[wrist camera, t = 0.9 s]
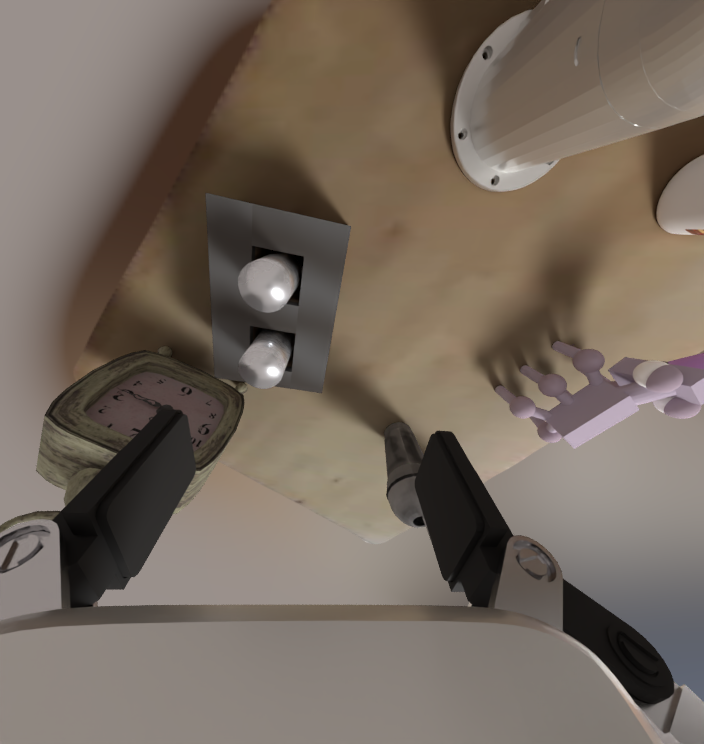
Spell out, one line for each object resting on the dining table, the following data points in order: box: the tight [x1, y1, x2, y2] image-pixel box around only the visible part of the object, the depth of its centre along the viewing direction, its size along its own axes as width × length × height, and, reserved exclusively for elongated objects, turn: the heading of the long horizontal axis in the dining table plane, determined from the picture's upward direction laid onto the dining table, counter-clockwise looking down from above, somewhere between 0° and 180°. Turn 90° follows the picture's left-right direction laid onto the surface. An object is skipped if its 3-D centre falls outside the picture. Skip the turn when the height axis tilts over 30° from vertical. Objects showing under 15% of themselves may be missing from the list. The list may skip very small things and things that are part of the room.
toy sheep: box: [495, 341, 704, 448], centre depth 34 cm, size 20×11×14 cm, turn 138°
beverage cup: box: [384, 422, 431, 539], centre depth 36 cm, size 7×7×20 cm
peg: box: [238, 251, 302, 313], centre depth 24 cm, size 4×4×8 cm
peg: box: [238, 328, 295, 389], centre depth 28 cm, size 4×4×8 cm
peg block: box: [206, 193, 351, 393], centre depth 30 cm, size 18×12×8 cm
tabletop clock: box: [0, 346, 247, 533], centre depth 28 cm, size 14×9×25 cm, turn 57°
